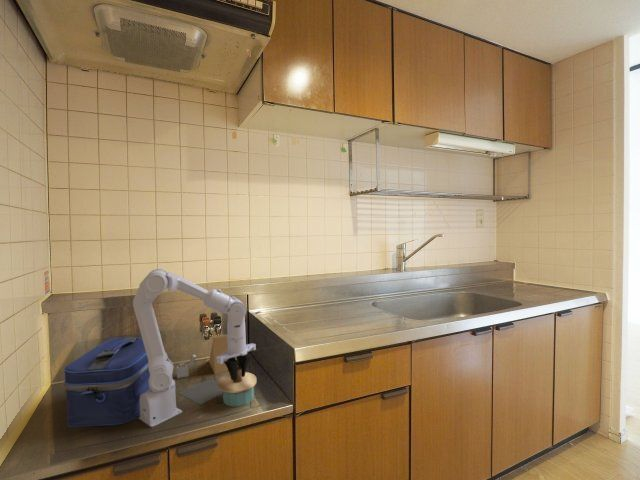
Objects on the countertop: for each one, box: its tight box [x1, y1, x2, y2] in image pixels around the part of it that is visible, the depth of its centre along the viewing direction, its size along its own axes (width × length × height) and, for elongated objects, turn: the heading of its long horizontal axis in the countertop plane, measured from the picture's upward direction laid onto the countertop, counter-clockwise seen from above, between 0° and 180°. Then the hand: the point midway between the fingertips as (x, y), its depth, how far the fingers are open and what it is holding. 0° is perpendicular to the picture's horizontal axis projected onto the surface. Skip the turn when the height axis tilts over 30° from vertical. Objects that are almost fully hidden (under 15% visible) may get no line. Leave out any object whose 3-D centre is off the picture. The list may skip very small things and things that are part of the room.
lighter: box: [176, 353, 197, 379], centre depth 129 cm, size 7×2×8 cm, turn 114°
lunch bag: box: [63, 336, 150, 428], centre depth 109 cm, size 31×21×20 cm
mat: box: [178, 378, 223, 406], centre depth 116 cm, size 13×13×1 cm
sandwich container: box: [208, 334, 237, 375], centre depth 138 cm, size 9×15×15 cm, turn 27°
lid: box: [217, 367, 258, 393], centre depth 111 cm, size 12×12×5 cm
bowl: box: [222, 386, 255, 407], centre depth 111 cm, size 10×10×4 cm
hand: (237, 377), depth 110 cm, fingers closed on lid, 3 cm apart
